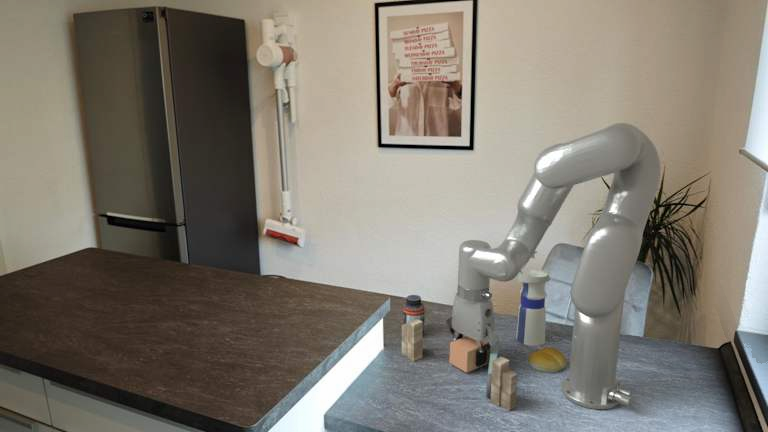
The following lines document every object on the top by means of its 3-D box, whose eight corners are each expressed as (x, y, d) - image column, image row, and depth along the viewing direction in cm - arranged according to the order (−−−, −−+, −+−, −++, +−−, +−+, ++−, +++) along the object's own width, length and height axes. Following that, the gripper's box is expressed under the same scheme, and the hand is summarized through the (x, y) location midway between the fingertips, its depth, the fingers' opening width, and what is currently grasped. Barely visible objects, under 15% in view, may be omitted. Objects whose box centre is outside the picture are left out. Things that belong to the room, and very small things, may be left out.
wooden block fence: (516, 406, 116) (519, 364, 113) (508, 411, 114) (510, 369, 112) (408, 350, 141) (408, 315, 139) (400, 354, 139) (400, 318, 137)
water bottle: (507, 336, 149) (511, 250, 143) (531, 330, 152) (536, 246, 147) (526, 348, 142) (532, 258, 136) (552, 342, 145) (558, 254, 139)
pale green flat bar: (494, 398, 118) (495, 378, 117) (485, 397, 118) (486, 377, 117) (499, 350, 140) (499, 332, 139) (491, 349, 140) (492, 331, 139)
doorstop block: (489, 363, 133) (490, 342, 132) (466, 372, 129) (467, 351, 127) (472, 353, 138) (473, 333, 137) (449, 362, 133) (450, 342, 132)
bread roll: (521, 363, 134) (522, 349, 133) (546, 354, 139) (547, 340, 138) (547, 378, 128) (548, 362, 127) (572, 367, 132) (573, 352, 131)
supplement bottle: (404, 329, 153) (404, 292, 151) (424, 330, 152) (425, 293, 150) (401, 339, 148) (401, 300, 145) (423, 340, 147) (423, 301, 144)
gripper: (512, 298, 125) (507, 368, 129) (456, 278, 138) (453, 342, 142) (492, 306, 120) (488, 378, 124) (436, 285, 133) (434, 351, 137)
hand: (469, 358), depth 133 cm, fingers closed on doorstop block, 6 cm apart
